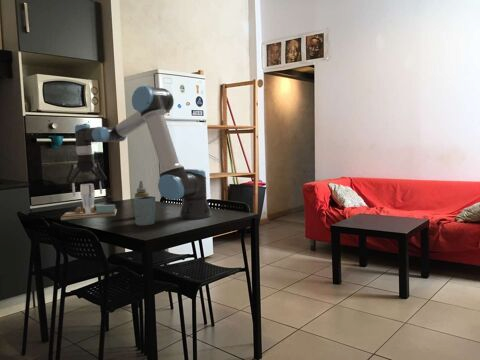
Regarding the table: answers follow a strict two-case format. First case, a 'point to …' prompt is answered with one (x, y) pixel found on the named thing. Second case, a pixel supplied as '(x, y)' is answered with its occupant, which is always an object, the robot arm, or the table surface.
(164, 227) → the table surface
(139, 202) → the drinking glass
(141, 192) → the squeeze bottle
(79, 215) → the board
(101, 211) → the block
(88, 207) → the beer glass
